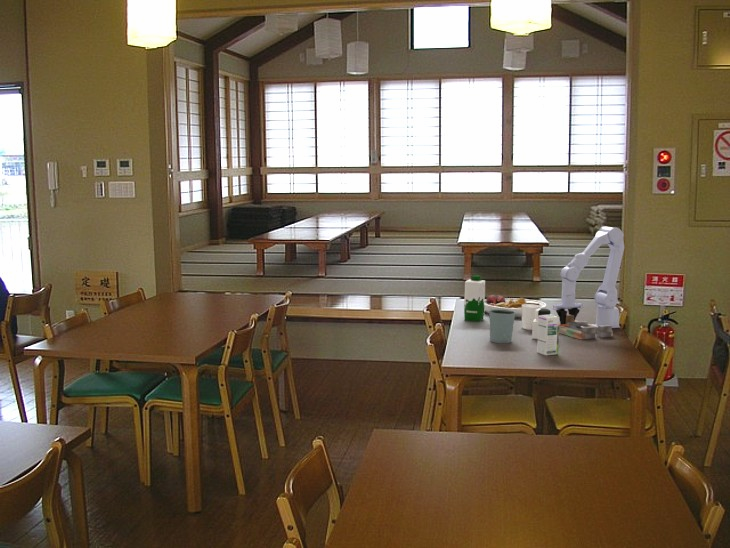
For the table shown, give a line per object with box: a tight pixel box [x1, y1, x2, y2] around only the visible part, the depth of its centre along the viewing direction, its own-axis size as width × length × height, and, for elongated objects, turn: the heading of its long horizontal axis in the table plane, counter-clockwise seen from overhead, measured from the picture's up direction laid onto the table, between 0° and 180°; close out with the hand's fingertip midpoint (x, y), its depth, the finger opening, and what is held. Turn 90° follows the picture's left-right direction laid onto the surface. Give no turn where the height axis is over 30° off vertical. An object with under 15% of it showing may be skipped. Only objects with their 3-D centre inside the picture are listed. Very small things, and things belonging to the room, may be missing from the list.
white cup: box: [521, 304, 540, 331], centre depth 350 cm, size 8×8×10 cm
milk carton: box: [463, 274, 486, 323], centre depth 367 cm, size 9×9×20 cm
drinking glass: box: [488, 310, 515, 344], centre depth 324 cm, size 10×10×12 cm
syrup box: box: [536, 313, 560, 356], centre depth 303 cm, size 6×6×14 cm
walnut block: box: [564, 313, 574, 327], centre depth 351 cm, size 4×4×6 cm
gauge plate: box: [559, 320, 589, 331], centre depth 342 cm, size 15×7×4 cm, turn 114°
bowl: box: [484, 294, 547, 319], centre depth 387 cm, size 30×30×8 cm
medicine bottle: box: [531, 308, 551, 340], centre depth 331 cm, size 7×7×12 cm
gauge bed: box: [559, 319, 614, 340], centre depth 345 cm, size 17×28×5 cm, turn 24°
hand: (567, 325), depth 351 cm, fingers closed on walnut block, 4 cm apart
